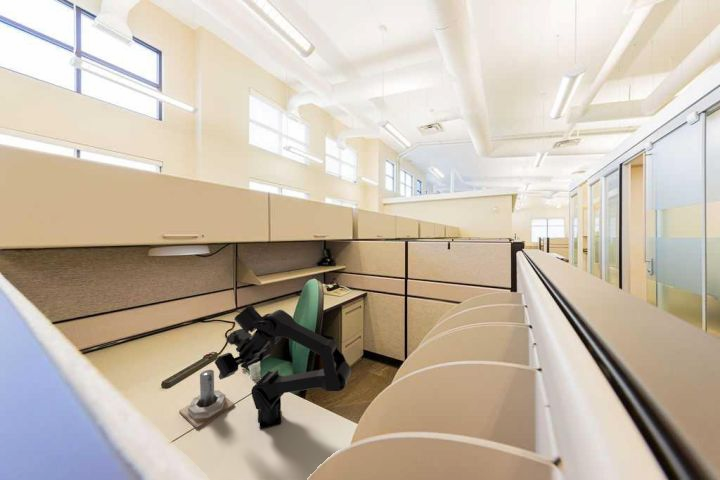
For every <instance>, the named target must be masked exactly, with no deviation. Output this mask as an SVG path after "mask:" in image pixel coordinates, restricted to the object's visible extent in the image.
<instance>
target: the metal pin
mask: <svg viewBox="0 0 720 480" xmlns="http://www.w3.org/2000/svg"><path fill="white" fill-rule="evenodd" d="M214 373H215V370H213V369H207V370H203V371H202V372H200V373H199V386H200V387H199V390H200V393H199V395H200V399H201V408H203V407H209V406H211V405H212V404H214V391H215V374H214Z"/></svg>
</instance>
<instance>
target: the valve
mask: <svg viewBox="0 0 720 480" xmlns="http://www.w3.org/2000/svg"><path fill="white" fill-rule="evenodd" d="M242 365H243V363H242V364H240V368H242V369H244V368H243V366H242ZM245 368H246V369H247V368H248V370H249V374H250V375H249V378H250V379H251V380H252V381H254V380H258V379H260V377H261V361H259V362H257V363H254V364H252V365H250V366H248V367H245Z"/></svg>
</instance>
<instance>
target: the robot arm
mask: <svg viewBox="0 0 720 480" xmlns="http://www.w3.org/2000/svg"><path fill="white" fill-rule="evenodd" d="M233 320H234V321H235V323H236V324H237V325H238V326H239V327H240V329H236V330H233V331H231V332H230V333H229V335H227V338H226V342H227V343H229V344H230V345H231V346H232V345H233V346H236V347H235V350H236V352H237V353H238V356H236V357H234V355H233V354H232V352H226V353H224V354H222V355H219V356H218V357H217V358H215V361H214V364H215V366H216V367H217V369H218V371H219V374H218V378H219V380H223V379H226V378H229V377H230V376H233V375H235V374H236V372H237V371H239V366H241V364H242V363H243V365H242V366H243V368H242V369H245V368H246V367H247V368H248V366H250V365H252V364H254V363H257V362H259V361H260V362H261V361H263V360H264V359H266V358H269V357H270V356H271V355H272V348H271V346H270V343H271V345H273V346H275V345H277V343H278V342H280V341H281V338H286V339H290V340H291V341H293V342H295V343H297V344H298V345H301V346H302V347H305V348H306V349H308V350H310V351H312V352H314V353H315V354H318V355H320V357H321V362H322V368H321V369H317V370H311V371H305V372H300V373H294V374H288V375H281V374H279V370H278V369H277V370H272V371H267V372H266V373H265V374H264V375H263V376H262V377H261V378H259V380H258V381H257V382H256V383H255V384H254V385H253V386H252V388H251V397H252V400H253V404H254V407H255V409H256V410H257V423H258V424H259V426H258V427H259V430H262V429H265V428H271V427H275V426H278V425H281V424H282V407H281V406H282V401H281V400H282V399H281V398H282V396H284V394H285V393H286V394H288V393H292V392H293V393H294V392H300V391H305V390H312V389H320V388H321V389H322V390H325V391H326V392H332V393H334V392H336V393H337V392H342V391H343V390H344V388H345V387H346V384H347V383H348V381H349V378H350V376H351V373H352V368H351V366H350V365H349V363H348V362H347V360H346V357H345V354H344V353H342V352H341V350H340V349H339V348H338V345H337V343H336V341H335V340H334V339H330V338H327V337H325V336H323V335H321V334H319V333H318V332H315V331H314V330H311V329H309V328H308V327H305V326H303V325H301V324H299V323H298V322H296V321H295V319H294V318H293V317H292V315H290V314H289V313H288V312H286V311H285V310H282V309H278V310H275V311H273V312H271V313H270V312H269V313H266V314H265V315H261V314H260V313H259V312H258V311H257V310H256V309H255V306H253V305H252V304H250V305H247V306H246V307H245V309H243V310H242V311H241V312H239V313H238V314H236V316H235V317H234V319H233ZM251 333H253V334H251Z"/></svg>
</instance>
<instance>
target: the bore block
mask: <svg viewBox="0 0 720 480" xmlns="http://www.w3.org/2000/svg"><path fill="white" fill-rule="evenodd" d="M235 406H236V405H235V403H234V402H233V401H231V400H230V398H227V397H226V394H225V393H223V391H220V390H214V404H212V405H211V406H209V407H203V408H201V399H200V394H199V395H197V396H195V397H194V398H192V400H191V402H190V404H189V405H186V406H185V407H183V408H180V409H179V411H178V412H179V414H180V415H181V416H182V417H183V418H184V419H185V420H187V421H188V423H190V425H192V426H193V428H195V429H196V430H199V429H201V428H202V427H204V426H206V425H207V424H209V423H210V422H212V421H213V420H215V419H216V417H217V418H218V417H220V416H221V415H224V413H226V412H228V411H230V410H231V409H232V408H234V407H235ZM227 410H228V411H227ZM219 415H220V416H219Z"/></svg>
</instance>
